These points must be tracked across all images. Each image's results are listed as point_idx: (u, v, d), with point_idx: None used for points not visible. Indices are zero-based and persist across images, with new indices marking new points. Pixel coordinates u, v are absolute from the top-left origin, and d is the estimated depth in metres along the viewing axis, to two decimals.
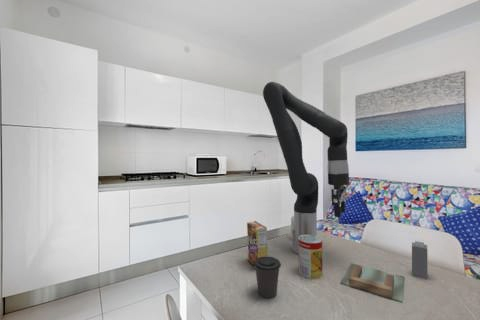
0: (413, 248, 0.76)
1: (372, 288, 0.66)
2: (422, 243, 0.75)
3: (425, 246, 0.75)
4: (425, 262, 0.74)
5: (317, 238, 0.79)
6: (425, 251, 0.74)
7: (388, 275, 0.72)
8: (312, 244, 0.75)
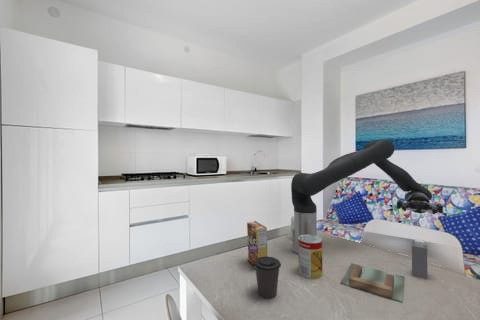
0: (413, 248, 0.76)
1: (372, 288, 0.66)
2: (422, 243, 0.75)
3: (425, 246, 0.75)
4: (425, 262, 0.74)
5: (317, 238, 0.79)
6: (425, 251, 0.74)
7: (388, 275, 0.72)
8: (312, 244, 0.75)
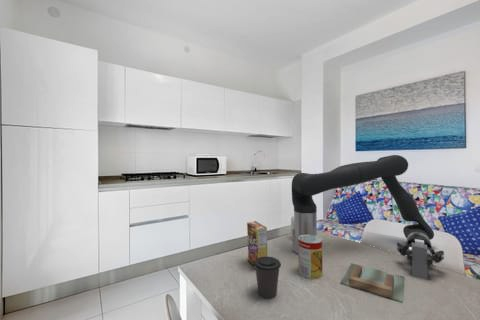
0: (413, 248, 0.76)
1: (372, 288, 0.66)
2: (422, 243, 0.75)
3: (425, 246, 0.75)
4: (425, 262, 0.74)
5: (317, 238, 0.79)
6: (425, 251, 0.74)
7: (388, 275, 0.72)
8: (312, 244, 0.75)
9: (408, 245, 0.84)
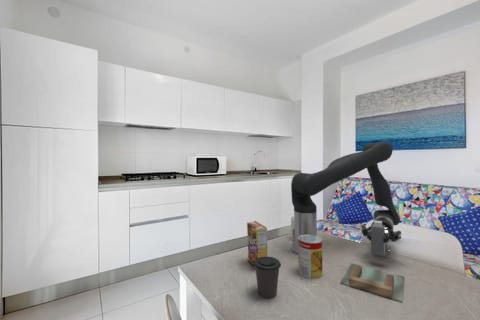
0: (372, 228, 0.83)
1: (372, 288, 0.66)
2: (380, 223, 0.82)
3: (383, 226, 0.83)
4: (382, 240, 0.81)
5: (317, 238, 0.79)
6: (382, 230, 0.81)
7: (388, 275, 0.72)
8: (312, 244, 0.75)
9: None
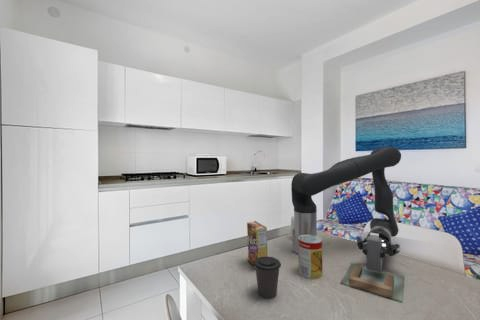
0: (368, 241, 0.76)
1: (372, 288, 0.66)
2: (376, 236, 0.75)
3: (379, 239, 0.75)
4: (379, 255, 0.74)
5: (317, 238, 0.79)
6: (378, 244, 0.74)
7: (388, 275, 0.72)
8: (312, 244, 0.75)
9: None
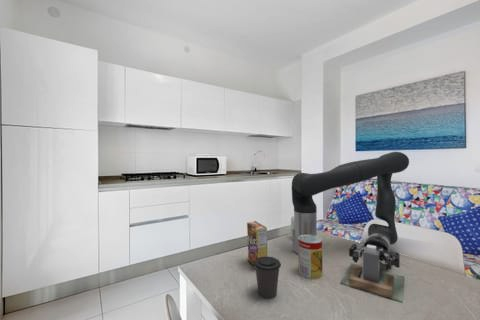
0: (364, 254, 0.70)
1: (372, 288, 0.66)
2: (373, 249, 0.69)
3: (377, 252, 0.70)
4: (376, 270, 0.68)
5: (317, 238, 0.79)
6: (376, 258, 0.68)
7: (388, 275, 0.72)
8: (312, 244, 0.75)
9: (363, 247, 0.78)
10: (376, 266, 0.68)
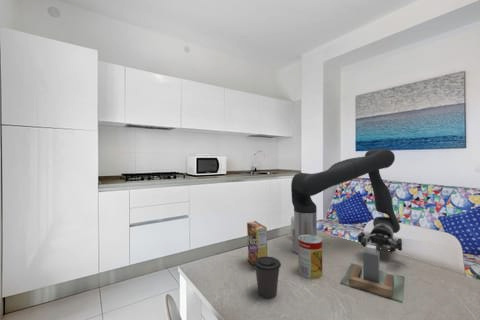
0: (364, 254, 0.70)
1: (372, 288, 0.66)
2: (373, 249, 0.69)
3: (377, 252, 0.70)
4: (376, 270, 0.68)
5: (317, 238, 0.79)
6: (376, 258, 0.68)
7: (388, 275, 0.72)
8: (312, 244, 0.75)
9: (370, 235, 0.91)
10: (376, 266, 0.68)
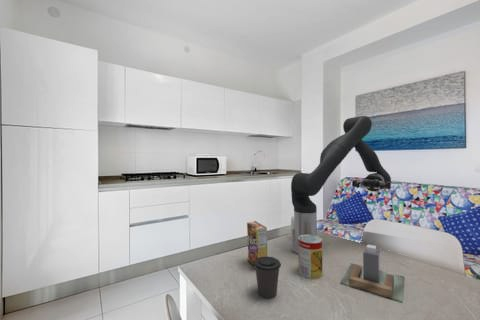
0: (364, 254, 0.70)
1: (372, 288, 0.66)
2: (373, 249, 0.69)
3: (377, 252, 0.70)
4: (376, 270, 0.68)
5: (317, 238, 0.79)
6: (376, 258, 0.68)
7: (388, 275, 0.72)
8: (312, 244, 0.75)
9: None
10: (376, 266, 0.68)
